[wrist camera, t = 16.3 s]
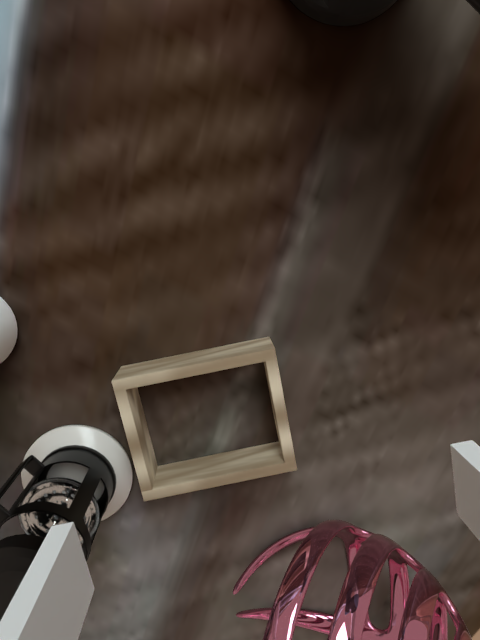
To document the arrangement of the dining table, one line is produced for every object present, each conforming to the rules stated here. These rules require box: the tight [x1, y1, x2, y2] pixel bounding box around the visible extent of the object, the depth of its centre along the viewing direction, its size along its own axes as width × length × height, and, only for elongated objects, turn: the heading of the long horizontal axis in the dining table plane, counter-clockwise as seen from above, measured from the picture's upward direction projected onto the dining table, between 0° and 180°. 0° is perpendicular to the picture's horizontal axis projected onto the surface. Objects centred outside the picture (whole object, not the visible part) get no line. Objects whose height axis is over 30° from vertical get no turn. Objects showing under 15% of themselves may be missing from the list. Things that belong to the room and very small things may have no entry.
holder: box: [112, 337, 297, 501], centre depth 51 cm, size 14×17×5 cm
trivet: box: [21, 425, 133, 521], centre depth 54 cm, size 13×13×1 cm
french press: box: [0, 445, 116, 621], centre depth 43 cm, size 12×9×23 cm
